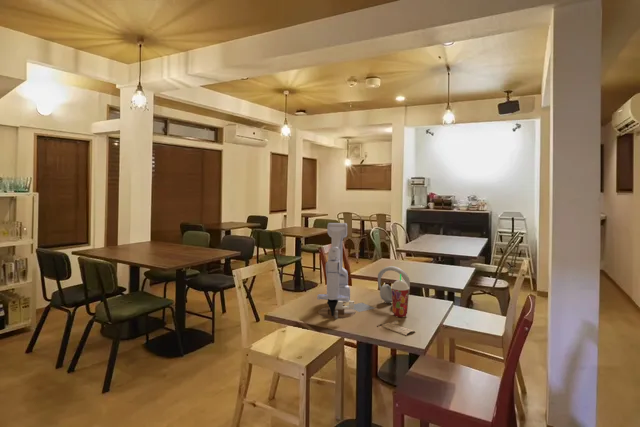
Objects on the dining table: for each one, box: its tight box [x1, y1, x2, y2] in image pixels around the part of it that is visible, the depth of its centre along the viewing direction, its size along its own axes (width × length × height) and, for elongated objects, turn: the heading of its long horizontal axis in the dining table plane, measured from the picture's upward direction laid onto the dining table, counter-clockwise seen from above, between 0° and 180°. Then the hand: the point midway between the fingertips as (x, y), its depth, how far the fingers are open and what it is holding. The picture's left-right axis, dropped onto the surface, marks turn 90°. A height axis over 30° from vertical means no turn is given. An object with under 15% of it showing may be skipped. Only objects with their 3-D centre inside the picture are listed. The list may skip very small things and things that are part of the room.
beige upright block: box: [329, 300, 355, 310], centre depth 186 cm, size 12×6×6 cm, turn 85°
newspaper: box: [378, 321, 416, 336], centre depth 171 cm, size 24×7×2 cm, turn 39°
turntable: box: [318, 304, 357, 320], centre depth 186 cm, size 18×18×4 cm
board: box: [346, 302, 376, 313], centre depth 189 cm, size 30×20×1 cm, turn 121°
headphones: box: [377, 265, 411, 304], centre depth 202 cm, size 18×8×20 cm, turn 50°
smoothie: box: [391, 274, 410, 318], centre depth 184 cm, size 8×8×20 cm
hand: (332, 315), depth 178 cm, fingers closed
